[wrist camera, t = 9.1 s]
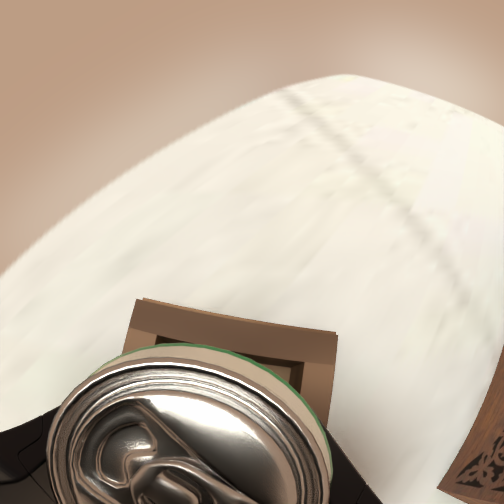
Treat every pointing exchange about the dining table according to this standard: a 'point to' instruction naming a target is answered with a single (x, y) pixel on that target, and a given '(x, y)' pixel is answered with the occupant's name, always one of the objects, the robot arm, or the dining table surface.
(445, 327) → the dining table surface
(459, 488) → the tissue box cover
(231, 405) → the soda can
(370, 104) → the dining table surface
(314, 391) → the socket block
